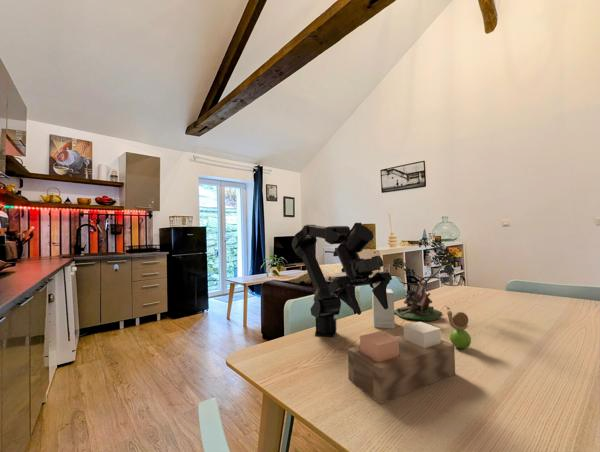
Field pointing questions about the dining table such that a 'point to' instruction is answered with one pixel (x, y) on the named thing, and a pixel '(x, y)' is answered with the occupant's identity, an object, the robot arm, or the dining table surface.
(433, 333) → the white box
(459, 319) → the snail figurine
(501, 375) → the dining table surface
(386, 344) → the salmon pink block
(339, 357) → the dining table surface
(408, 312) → the bonsai tree
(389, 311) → the supplement box
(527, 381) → the dining table surface
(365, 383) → the brown striped box
